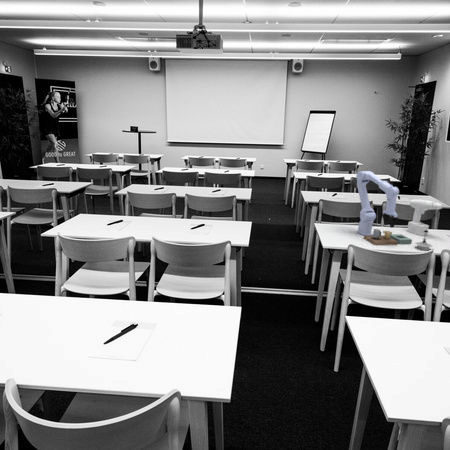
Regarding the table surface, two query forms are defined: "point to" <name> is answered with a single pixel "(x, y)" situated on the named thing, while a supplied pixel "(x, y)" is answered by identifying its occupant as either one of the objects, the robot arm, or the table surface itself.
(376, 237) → the steel peg
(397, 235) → the rack
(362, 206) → the robot arm
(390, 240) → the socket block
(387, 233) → the release key
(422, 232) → the power drill
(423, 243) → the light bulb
